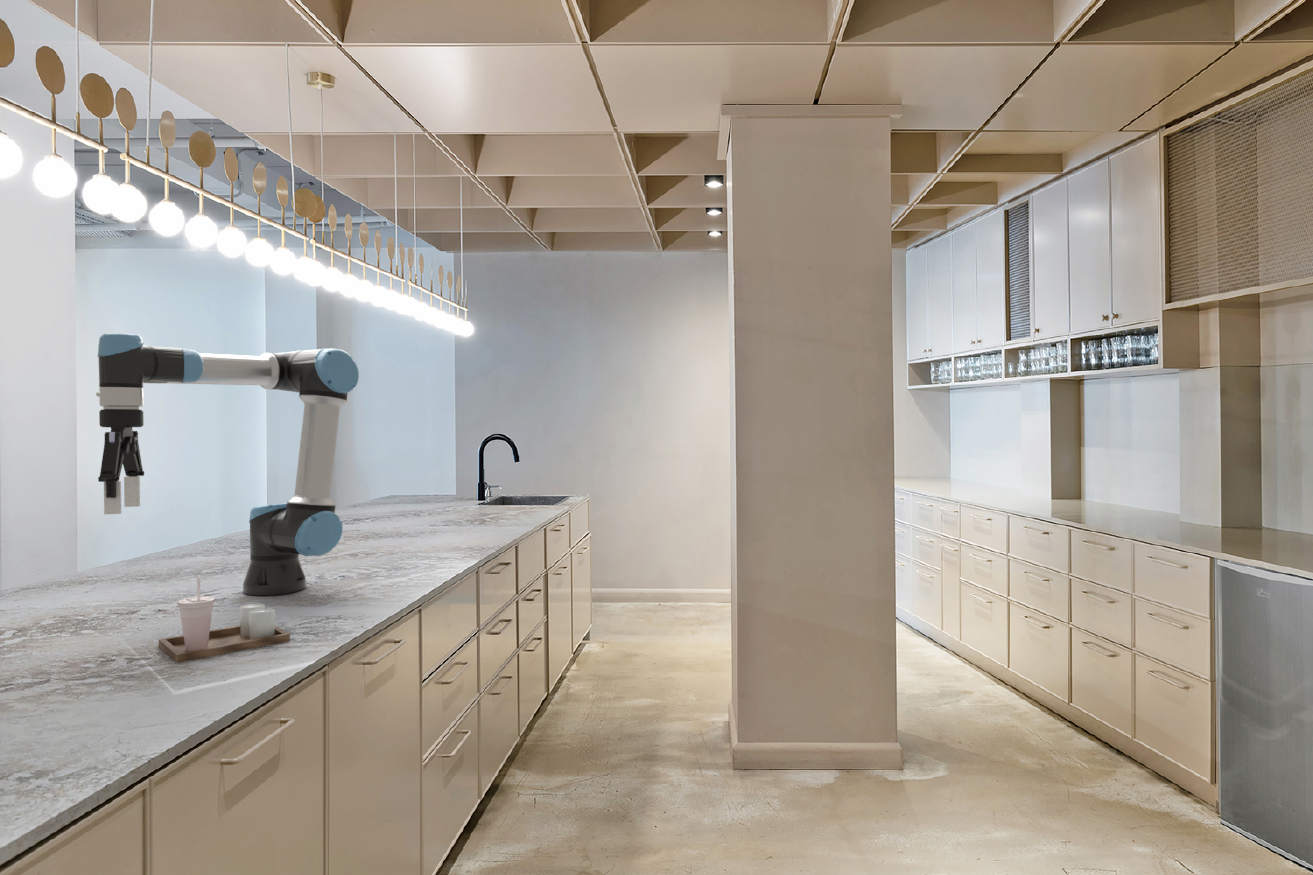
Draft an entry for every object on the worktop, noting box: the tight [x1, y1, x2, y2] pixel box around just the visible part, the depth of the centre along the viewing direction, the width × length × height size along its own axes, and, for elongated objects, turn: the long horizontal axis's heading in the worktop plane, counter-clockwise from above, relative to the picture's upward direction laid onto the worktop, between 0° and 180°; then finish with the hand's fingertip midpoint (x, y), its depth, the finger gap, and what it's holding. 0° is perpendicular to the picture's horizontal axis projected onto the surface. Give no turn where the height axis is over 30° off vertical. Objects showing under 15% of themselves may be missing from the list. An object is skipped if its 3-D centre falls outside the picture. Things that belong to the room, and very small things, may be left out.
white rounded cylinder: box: [239, 603, 266, 638], centre depth 159 cm, size 5×5×6 cm
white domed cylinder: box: [249, 607, 276, 640], centre depth 155 cm, size 5×5×6 cm
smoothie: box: [176, 577, 216, 651], centre depth 149 cm, size 6×6×14 cm
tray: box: [158, 624, 291, 663], centre depth 153 cm, size 20×14×2 cm
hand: (123, 510), depth 159 cm, fingers open, 13 cm apart
